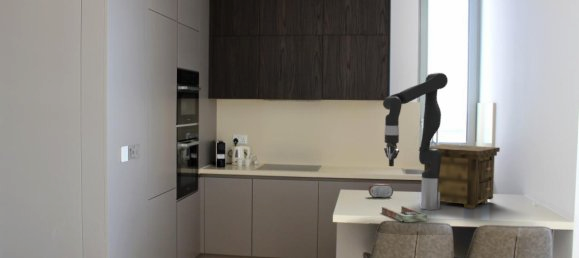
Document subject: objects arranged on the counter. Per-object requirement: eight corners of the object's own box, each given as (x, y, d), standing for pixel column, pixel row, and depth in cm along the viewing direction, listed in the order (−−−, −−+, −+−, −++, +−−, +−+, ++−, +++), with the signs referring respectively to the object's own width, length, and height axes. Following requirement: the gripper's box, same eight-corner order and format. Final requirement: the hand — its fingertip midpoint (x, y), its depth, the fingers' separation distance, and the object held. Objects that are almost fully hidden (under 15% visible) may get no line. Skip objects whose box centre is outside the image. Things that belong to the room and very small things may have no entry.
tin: (392, 197, 354) (392, 183, 353) (393, 198, 351) (393, 184, 350) (368, 197, 353) (368, 183, 353) (369, 197, 350) (369, 184, 350)
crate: (441, 195, 361) (443, 144, 360) (497, 202, 340) (499, 147, 339) (418, 203, 334) (419, 147, 332) (477, 210, 312) (479, 151, 311)
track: (403, 211, 306) (403, 206, 306) (427, 220, 283) (427, 214, 283) (381, 212, 303) (381, 207, 302) (403, 222, 280) (403, 216, 280)
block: (413, 219, 289) (413, 212, 288) (418, 221, 284) (418, 214, 284) (404, 219, 287) (404, 212, 287) (409, 221, 282) (409, 214, 282)
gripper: (404, 134, 301) (403, 167, 302) (392, 133, 314) (391, 164, 315) (391, 134, 299) (390, 167, 300) (379, 133, 312) (379, 165, 312)
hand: (391, 166), depth 307 cm, fingers closed
